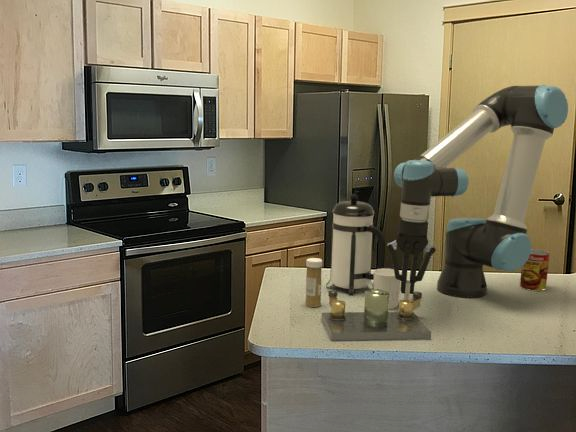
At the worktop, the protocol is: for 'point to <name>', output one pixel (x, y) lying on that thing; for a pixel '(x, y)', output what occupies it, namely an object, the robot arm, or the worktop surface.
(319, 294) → the sprinkles bottle
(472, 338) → the worktop surface
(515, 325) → the worktop surface
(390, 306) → the white cup
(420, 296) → the lever
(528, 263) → the canned food
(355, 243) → the coffee press
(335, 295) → the lever
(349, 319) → the base
